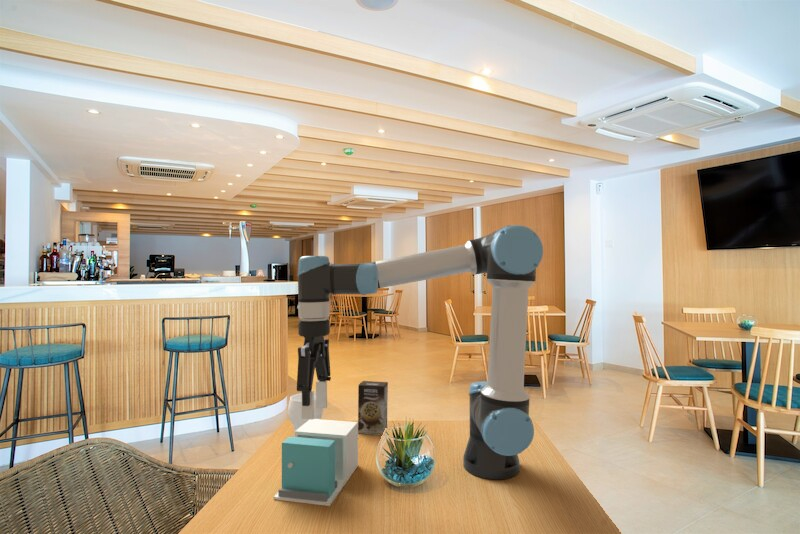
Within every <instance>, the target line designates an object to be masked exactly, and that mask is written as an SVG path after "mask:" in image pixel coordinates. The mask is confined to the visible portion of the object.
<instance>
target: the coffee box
mask: <svg viewBox="0 0 800 534" xmlns="http://www.w3.org/2000/svg"><path fill="white" fill-rule="evenodd" d="M388 386H389V383H388V381H370V380H369V381H368V380H363V381H361V382H360V383H359V384H358V388H357V389H358V392H357V393H358V394H357V395H358V398H357V400H358V401H357V402H358V403H357V416H358V417H357V422H358V434H365V435H378V436H383V435H382V434H383V432H384V430H385V428H387V429H388V392H389V391H388V390H389V389H388V388H389V387H388Z"/></svg>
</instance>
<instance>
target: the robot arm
mask: <svg viewBox="0 0 800 534" xmlns="http://www.w3.org/2000/svg"><path fill="white" fill-rule="evenodd" d="M543 256H544V247H543V242H542V240H541V238H540V236H539V235H538V234H537V233H536V232H535V231H534V230H533V229H531V228H529V227H527V226H525V225H520V224H514V225H506V226H504V227H501V228H499V229H498V230H496V231H495V230H494V231H493V232H491V233H489V234H487V235H484V236H482V237H479V238H475V239H469V240H467V241H466V242H465V243H464V244H462V245H456V246H451V247H446V248H441V249H435V250H430V251H423V252H419V253H413V254H408V255H403V256H397V257H393V258H388V259H386V258H385V259H382V260H375V261H370V262H361V263H331V262H330V258H329V256H327V255H304V256H303V255H302V256H301V257H300V258H299V259H298V266H297V270H298V271H297V275H296V276H297V288H298V289H297V292H298V294H297V295H298V304H297V307H296V309H297V310H298V311H297V312H298V314H297V315H298V318H299V319H300V320H299V321H298V322H297V323H298V327H297V328H298V331H297V332H298V335H299V336H300V337H303V338H304V341H303V346H298V347H297V356H298V357H297V358H298V359H297V360H298V361H297V377H296V391H297V392H301V393H302V419H312V420H313V419H314V393H316V408H323V409H327V408H328V381H329V382H330V381H331V379H332V378H331V363H330V349H329V347H330V339H329V338H325V337H326V336H328V335H329V334H330V332H331V326H330V325H331V324H330V320H329V319H328V318H330V316H331V313H330V311H331V310H330V309H331V307H330V295H362V296H365V295H372V294H374V295H375V294H377V293H378V290H379V289H383V288H388V287H394V286H399V285H404V284H405V285H406V284H411V283H416V282H423V281H427V280H431V279H433V280H434V279H438V278H444V277H451V276H454V275H459V274H460V275H461V274H465V273H471V274H472V275H474V276H475V275H479V274H486V282H488V284H490V286H491V288H492V289H491V290H492V291H491V307H490V325H489V329H490V330H489V344H488V345H489V347H488V367H487V380H485V381H484V380H483V381H475V382H472V383H471V384H470V385H469V393H468V396H469V437H468V441H467V444H466V447H465V450H464V452H463V457H462V459H463V461H462V464H463V468H464V469H465V471H466V472H468V473H469V474H470V475H473V476H476V477H479V478H483V479H487V480H488V479H489V480H506V479H510V478H513V477H515V476H516V475H518V474H519V473H520V470H521V467H520V458H519V454H521V453H523V452H524V451H525V450H527V449H528V448H529V446H530V445H531V443H532V442H533V439H534V437H535V436H534V435H535V428H534V424H533V420H532V418H531V417H530V416H529V415H530V394H529V393H528V392H527V390H525V387H524V385H525V367H526V366H525V364H526V349H527V347H526V346H527V330H528V329H527V325H528V305H529V290H530V289H531V287H532V286H534V284H536V282H537V281H536V279H537V276H536V275H537V268H538V267H539V265H540V263H541V261H542V260H543ZM314 375H316V377H317V381H315V392H314V390H313V383H314Z"/></svg>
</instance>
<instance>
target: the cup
mask: <svg viewBox="0 0 800 534" xmlns="http://www.w3.org/2000/svg"><path fill="white" fill-rule="evenodd" d="M287 408H288V409H287V414H288V417H289V421H290V422H291V424H292V426H293V433H294V434H295V431H296V430H297V429H298V428H300V427H301V426H302V425H303V424H305V423H306V422H307V421H308V420H310V419H302V392H300V393H296V394H293V395H291V396H290V397H289V402H288V406H287ZM323 413H324V408H316V392H314V419H322V416H323ZM293 437H295V435H294V436H293Z"/></svg>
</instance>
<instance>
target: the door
mask: <svg viewBox="0 0 800 534" xmlns="http://www.w3.org/2000/svg"><path fill="white" fill-rule="evenodd" d="M281 489H290V490H299V491H308V492H316V493H325V494H328V498H330V496H331V495H332V494H333V492H334V491H335V440H325V439H313V438H302V437H294V436H288V437H287V438H285V439H284V440H283V441H282V442H281Z"/></svg>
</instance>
